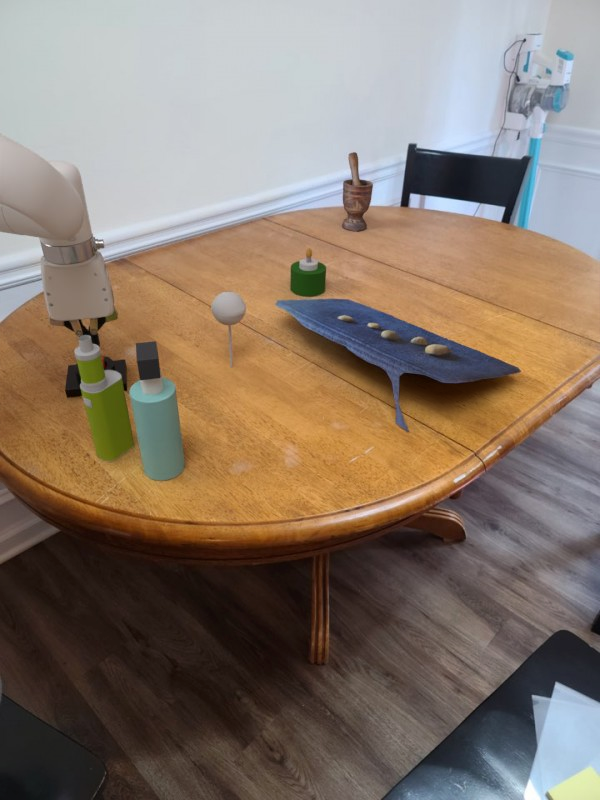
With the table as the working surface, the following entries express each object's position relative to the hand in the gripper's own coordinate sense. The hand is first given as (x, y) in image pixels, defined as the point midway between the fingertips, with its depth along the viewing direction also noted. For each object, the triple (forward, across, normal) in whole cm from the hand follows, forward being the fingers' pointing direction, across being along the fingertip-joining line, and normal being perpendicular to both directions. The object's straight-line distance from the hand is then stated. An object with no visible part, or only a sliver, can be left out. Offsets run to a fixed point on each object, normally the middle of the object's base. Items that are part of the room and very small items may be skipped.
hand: (92, 351), depth 97 cm
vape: (+6, -3, +20) cm, 21 cm away
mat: (+6, -53, +3) cm, 54 cm away
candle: (+7, -47, -30) cm, 56 cm away
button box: (+6, 0, 0) cm, 6 cm away
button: (+3, 0, 0) cm, 3 cm away
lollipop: (+6, -24, 0) cm, 25 cm away
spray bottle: (+6, -10, +25) cm, 28 cm away
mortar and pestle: (+7, -72, -71) cm, 101 cm away
